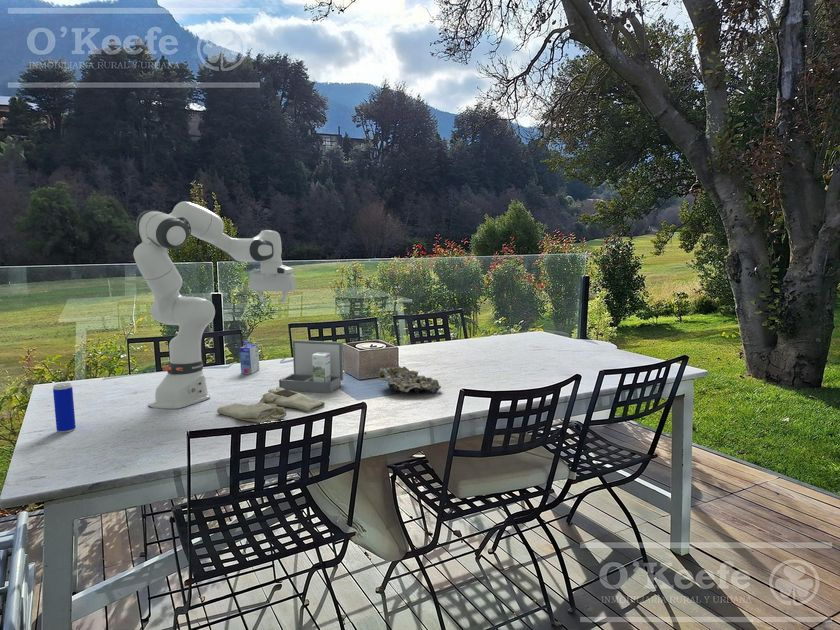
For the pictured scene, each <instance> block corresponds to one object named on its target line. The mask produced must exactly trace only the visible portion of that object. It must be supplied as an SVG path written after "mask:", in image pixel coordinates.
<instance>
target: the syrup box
mask: <svg viewBox="0 0 840 630" xmlns="http://www.w3.org/2000/svg"><path fill="white" fill-rule="evenodd" d="M312 369H313V382H326V383H329V382H331V374H330V353H320V352H317V353H314V354H313V355H312Z"/></svg>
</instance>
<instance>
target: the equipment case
mask: <svg viewBox="0 0 840 630" xmlns="http://www.w3.org/2000/svg"><path fill="white" fill-rule="evenodd" d="M343 344H344V343H343V341H327V340H326V341H323V340H305V339H303V340H301V339H299V340H298V339H293V340H292V354H293V355H292V356H293V357H292V359H293V361H292V362H293V373H290V374H289V375H287V376H284V377H282V378H280V379H279V380H278V382H279V383H278V385H279V386H278V387H281V388H283V389H285V390H290V391H293V392H306V393H307V392H309V393H310V392H311V393H321V394H324V393H325V394H331V393H333V392H334V391H335V390H338V389H339V388H341V385H342V383H341V382H342V381H344V355H343V354H344V346H343ZM317 352H320V353H330V374H331V382H329V383H326V382H313V369H312V355H313V354H314V353H317Z"/></svg>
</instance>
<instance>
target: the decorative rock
mask: <svg viewBox="0 0 840 630" xmlns="http://www.w3.org/2000/svg"><path fill="white" fill-rule="evenodd" d="M418 374H419V371H417V370H416V371H415V370H409V369H408V368H407V367H406V366H402V367H401V366H400V365H396V366H392V367H380V368H379V370H378V372H377V375H378V379H379V380H380V381H385V382H388V383H387V385H388V387H389V389H390V390H391V391H392V392H396V391H397V390H398V391H401V392H404V393H408V392H410V390H411V391H412V390H413V389H414V392H415V393H417V394H418V393H420V392H422V391H424V390H427V391H429V393H431V394H434V393H438V392H439V391H440V390H441V388H442V386H441V385H440V383H439V380H437V379H434V378H433V377H430V376H428V377H426V376H425V375H418Z"/></svg>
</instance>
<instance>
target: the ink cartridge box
mask: <svg viewBox="0 0 840 630" xmlns="http://www.w3.org/2000/svg"><path fill="white" fill-rule="evenodd" d="M243 342H244V345H243V346H240V347H239V361H240V363H239V364H240V372H241V373H240V374H242V375H244V374H245V375H252V374H254V373H255V372H257V371H259V370H260V354H259V353H260V352H259V343H249V341H248V339H247V340H244V341H243Z"/></svg>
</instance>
